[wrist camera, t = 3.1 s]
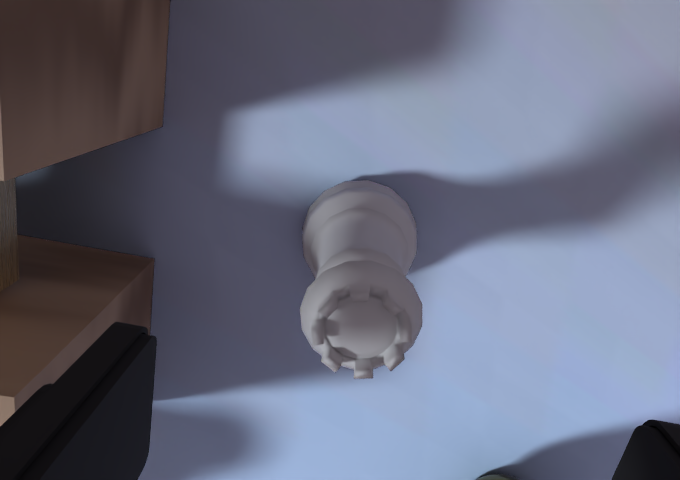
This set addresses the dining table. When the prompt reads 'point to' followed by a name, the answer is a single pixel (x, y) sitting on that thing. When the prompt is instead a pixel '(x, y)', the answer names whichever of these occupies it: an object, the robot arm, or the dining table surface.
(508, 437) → the dining table surface
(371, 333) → the rook chess piece
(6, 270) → the gold metallic block
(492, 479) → the cup
